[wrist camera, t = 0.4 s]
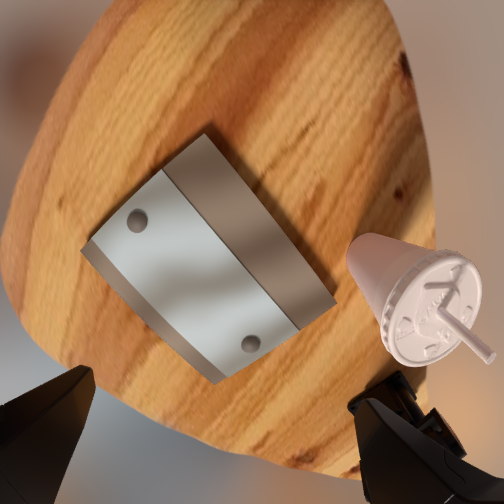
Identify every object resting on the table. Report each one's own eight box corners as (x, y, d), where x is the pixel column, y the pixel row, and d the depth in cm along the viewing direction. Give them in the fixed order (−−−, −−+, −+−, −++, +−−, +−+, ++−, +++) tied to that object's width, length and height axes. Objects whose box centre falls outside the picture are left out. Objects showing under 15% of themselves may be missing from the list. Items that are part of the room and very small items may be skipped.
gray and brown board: (333, 297, 22) (338, 305, 21) (214, 377, 24) (214, 387, 23) (205, 134, 18) (203, 132, 17) (85, 246, 20) (78, 252, 19)
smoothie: (375, 196, 20) (530, 256, 7) (415, 256, 22) (540, 344, 9) (311, 255, 21) (410, 389, 8) (358, 309, 23) (451, 437, 10)
